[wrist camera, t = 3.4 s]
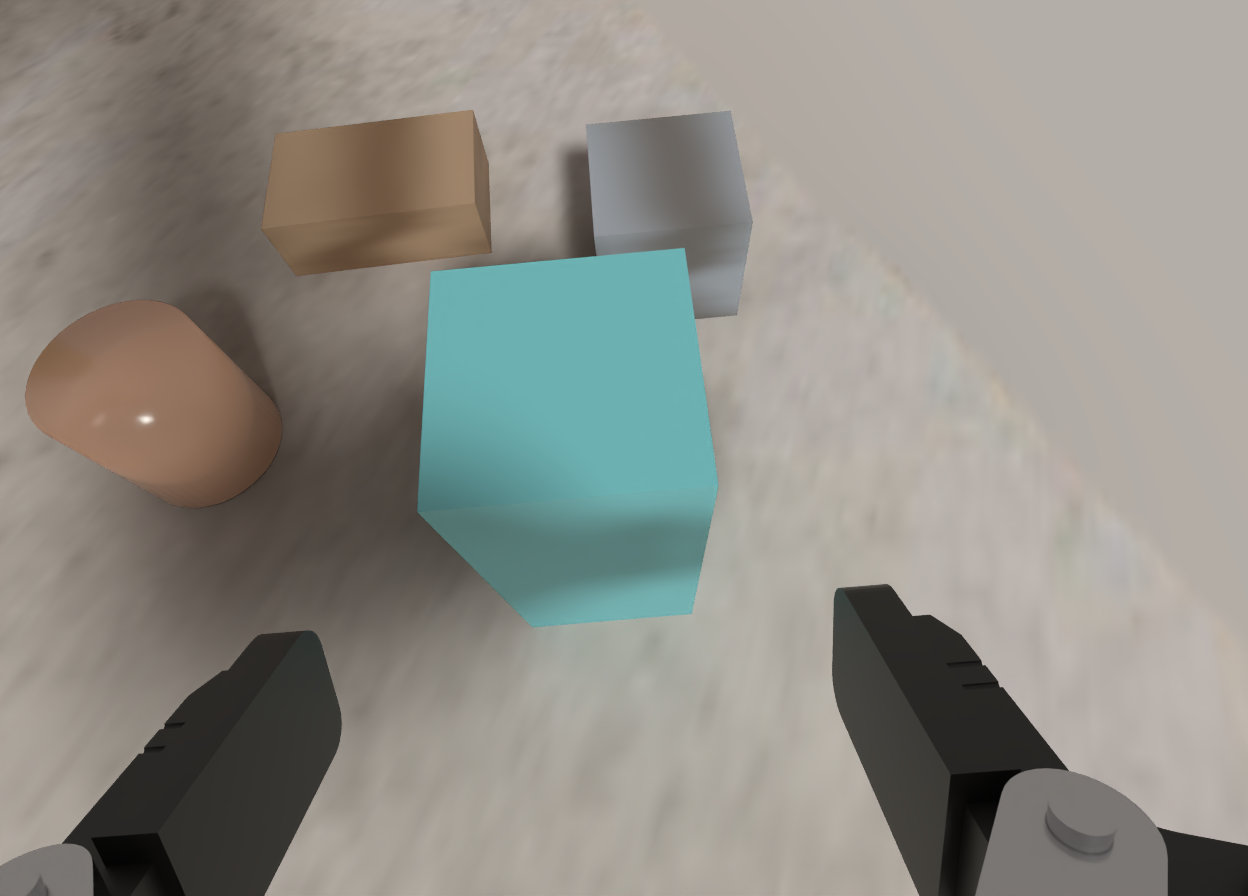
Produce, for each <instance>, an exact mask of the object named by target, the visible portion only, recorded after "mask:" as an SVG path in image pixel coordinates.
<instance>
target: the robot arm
mask: <svg viewBox="0 0 1248 896" xmlns="http://www.w3.org/2000/svg"><path fill="white" fill-rule="evenodd" d="M832 676H833V686H834V692H835V698H836V702H837V706H838V709H839V712H840V715H841V717H842V719H843V722H844V724H845V726H846V729H847V731H848V733H849V735H850V738H851V740H852V742H853V745H854V747H855V749H856V752H857V754H858V756H859V758H860V761H861V763H862V765H863V768H864V770H865V772H866V774H867V777H868V779H869V781H870V784H871V786H872V788H873V791H874V793H875V795H876V797H877V800H878V802H879V804H880V807H881V809H882V811H883V813H884V816H885V818H886V820H887V823H888V825H889V827H890V829H891V832H892V834H893V836H894V839H895V841H896V843H897V846H898V848H899V850H900V852H901V855H902V857H903V859H904V862H905V864H906V866H907V868H908V871H909V873H910V875H911V878H912V880H913V882H914V885H915V887H916V889H917V891H918V894H919V896H1248V846H1247V845H1241V844H1236V843H1231V842H1226V841H1220V840H1215V839H1210V838H1204V837H1199V836H1194V835H1189V834H1183V833H1178V832H1174V831H1170V830H1166V829H1162V828H1159V827H1156V825H1155V824H1154V823H1153V822H1152V820H1151V819H1150V818H1149V817H1148V816H1147V815H1146V814H1145V813H1144V812H1143V811H1142V810H1141V809H1140V808H1139V807H1138V806H1137V805H1136V804H1135V803H1133V802H1132V801H1131V800H1130V799H1128V798H1127V797H1126V796H1124V795H1123V794H1121V793H1120V792H1118V791H1116V790H1115V789H1113V788H1111V787H1109V786H1108V785H1106V784H1104V783H1102V782H1100V781H1097V780H1095V779H1092V778H1090V777H1088V776H1085V775H1081V774H1078V773H1075V772H1071V771H1069V770H1068V769H1067V768H1066V766H1065V765H1064V764H1063V763H1062V761H1061V760H1060V759H1059V758H1058V756H1057V755H1056V754H1055V753H1054V751H1053V750H1052V749H1051V747H1050V746H1049V745H1048V744H1047V742H1046V741H1045V740H1044V739H1043V737H1042V736H1041V735H1040V734H1039V732H1038V731H1037V730H1036V729H1035V727H1034V726H1033V725H1032V724H1031V722H1030V721H1029V720H1028V718H1027V717H1026V716H1025V715H1024V713H1023V712H1022V711H1021V710H1020V708H1019V707H1018V706H1017V705H1016V703H1015V702H1014V701H1013V700H1012V698H1011V697H1010V696H1009V694H1008V693H1007V692H1006V691H1005V689H1004V688H1003V687H999V684H998V681H997V679H996V678H995V677H994V676H993V674H992V673H991V672H990V671H989V669H988V668H987V667H986V665H984V666H983V665H982V662H981V659H980V658H979V657H978V655H977V654H976V653H975V652H974V650H973V649H972V648H971V647H970V645H969V644H968V643H967V641H966V640H965V639H964V638H963V636H962V635H961V634H959V633H958V632H956V631H954V630H953V629H951V628H950V627H948V626H947V625H945V624H944V623H942V622H941V621H939V620H938V619H936V618H934V617H933V616H931V615H921V616H912V615H911V613H910V612H909V611H908V609H907V608H906V606H905V605H904V604H903V602H902V601H901V599H900V598H899V597H898V595H897V594H896V592H895V591H894V590H893V588H892V587H891V586H890V585H888V584H882V585H870V586H858V587H846V588H838V589H837V590H836V592H835V596H834V617H833V660H832ZM341 725H342V721H341V711H340V707H339V704H338V700H337V697H336V693H335V690H334V686H333V683H332V680H331V676H330V673H329V669H328V666H327V662H326V659H325V656H324V652H323V649H322V645H321V642H320V640H319V638H318V636H317V635H316V634H315V633H314V632H313V631H296V632H284V633H272V634H261V635H259V636H257V637H256V638H255V639H254V640H253V641H252V642H251V643H250V644H249V645H248V647H247V648H246V649H245V650H244V651H243V653H242V654H241V655H240V656H239V658H238V659H237V660H236V661H235V662H234V664H233V665H232V666H231V667H230V669H229V670H228V671H222V672H220V673H219V674H218V675H216V676H215V677H213V678H212V679H211V680H209V681H208V682H207V683H205V684H204V685H203V686H201V687H200V688H198V689H197V690H196V691H194V692H193V693H192V694H190V695H189V696H188V697H187V698H186V699H185V700H184V702H183V703H182V704H181V705H180V706H179V707H178V709H177V710H176V711H175V712H174V713H173V714H172V716H171V717H170V718H169V719H168V720H167V721H166V723H165V727H164V729H161V730H159V731H158V732H157V733H156V734H155V735H154V737H153V738H152V739H151V740H150V741H149V742H148V744H147V745H146V746H145V747H144V753H143V754H138V755H137V757H136V758H135V759H134V760H133V761H132V762H131V764H130V765H129V766H128V767H127V768H126V769H125V771H124V772H123V773H122V774H121V775H120V776H119V778H118V779H117V780H116V781H115V782H114V783H113V785H112V786H111V787H110V788H109V789H108V790H107V792H106V793H105V794H104V795H103V796H102V797H101V799H100V800H99V801H98V802H97V803H96V804H95V806H94V807H93V808H92V809H91V810H90V811H89V813H88V814H87V815H86V816H85V817H84V818H83V820H82V821H81V822H80V823H79V824H78V825H77V827H76V828H75V829H74V830H73V831H72V832H71V834H70V835H69V836H68V837H67V838H66V839H65V841H64V842H63V843H62V844H57V845H51V846H47V847H43V848H40V849H37V850H34V851H31V852H28V853H26V854H23V855H21V856H19V857H17V858H14V859H13V860H11V861H9V862H7V863H5V864H3V865H1V866H0V896H264V895H265V893H266V891H267V889H268V887H269V885H270V883H271V881H272V879H273V877H274V875H275V873H276V871H277V869H278V867H279V865H280V863H281V861H282V859H283V857H284V855H285V853H286V851H287V849H288V847H289V845H290V843H291V842H292V840H293V838H294V836H295V834H296V832H297V830H298V828H299V826H300V824H301V822H302V820H303V818H304V816H305V814H306V812H307V810H308V808H309V806H310V804H311V802H312V800H313V798H314V796H315V794H316V792H317V790H318V788H319V786H320V784H321V782H322V780H323V778H324V776H325V774H326V772H327V770H328V768H329V766H330V764H331V762H332V760H333V758H334V756H335V754H336V751H337V749H338V746H339V742H340V736H341Z"/></svg>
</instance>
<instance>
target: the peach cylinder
mask: <svg viewBox="0 0 1248 896" xmlns="http://www.w3.org/2000/svg"><path fill="white" fill-rule="evenodd" d="M25 400H26V407H27V411H28V414H29V416H30V418H31V420H32V422H33V423H34V424H35V425H36V427H37V428H38V429H40V430H41V431H42V432H43V433H45V434H46V435H48V436H50V437H52V438H53V439H55V440H57V441H59V442H60V443H62V444H64V445H66V446H68V447H69V448H71V449H73V450H75V451H76V452H78V453H80V454H82V455H83V456H85V457H87V458H89V459H91V460H92V461H94V462H96V463H98V464H99V465H101V466H103V467H105V468H107V469H108V470H110V471H112V472H114V473H115V474H117V475H119V476H121V477H123V478H124V479H126V480H128V481H130V482H131V483H133V484H135V485H137V486H138V487H140V488H142V489H144V490H146V491H147V492H149V493H151V494H153V495H154V496H156V497H158V498H160V499H162V500H163V501H165V502H167V503H169V504H172V505H175V506H180V507H187V508H198V507H206V506H211V505H215V504H218V503H221V502H224V501H226V500H229V499H231V498H233V497H235V496H236V495H238V494H240V493H241V492H243V491H244V490H246V489H247V488H249V487H250V486H251V485H252V484H253V483H255V482H256V481H257V480H258V479H259V478H260V477H261V476H262V475H263V473H264V472H265V471H266V470H267V468H268V467H269V466H270V464H271V462H272V461H273V459H274V457H275V455H276V453H277V451H278V448H279V445H280V442H281V437H282V420H281V416H280V413H279V410H278V408H277V406H276V405H275V403H274V402H273V401H272V399H271V398H270V397H269V396H268V395H267V394H266V393H264V392H263V391H262V390H261V389H260V388H259V387H258V386H257V385H256V384H255V383H254V382H253V381H252V380H251V379H250V378H249V377H248V376H247V375H246V374H245V373H244V372H243V371H242V370H241V369H240V368H239V367H238V366H237V365H236V364H235V363H234V362H233V361H232V360H231V359H230V358H229V357H228V356H227V355H226V354H225V353H224V352H223V351H222V350H221V349H220V348H219V347H218V346H217V345H216V344H215V343H214V342H213V341H212V340H211V339H210V338H209V337H208V336H207V335H206V334H205V333H204V332H203V331H202V330H201V329H200V328H199V327H198V326H197V325H196V324H195V323H194V322H193V321H192V320H190V319H189V318H188V317H187V316H186V315H185V314H184V313H183V312H182V311H180V310H179V309H177V308H176V307H174V306H171V305H169V304H166V303H163V302H159V301H152V300H132V301H125V302H120V303H116V304H112V305H109V306H106V307H103V308H100V309H98V310H96V311H93V312H91V313H89V314H87V315H85V316H84V317H82V318H80V319H78V320H77V321H75V322H74V323H72V324H71V325H69V326H68V327H67V328H65V329H64V330H63V331H62V332H61V333H59V334H58V335H57V336H56V337H55V338H54V339H53V340H52V341H51V342H50V343H49V344H48V346H47V347H46V348H45V349H44V350H43V352H42V353H41V354H40V356H39V357H38V359H37V361H36V362H35V364H34V366H33V368H32V370H31V373H30V375H29V378H28V381H27V385H26V393H25Z"/></svg>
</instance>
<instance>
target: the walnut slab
mask: <svg viewBox="0 0 1248 896" xmlns="http://www.w3.org/2000/svg"><path fill="white" fill-rule="evenodd" d="M261 230H262V231H263V232H264V234H265V235H266V236H267V238H268V239H269V240H270V242H271V243H272V244H273V245H274V247H275V248H276V249H277V251H278V252H279V253H280V255H281V256H282V257H283V259H284V260H285V261H286V263H287V264H288V265H289V267H290V268H291V269H292V270H293V272H294V273H295V274H296V276H301V275H309V274H317V273H325V272H334V271H342V270H350V269H359V268H367V267H375V266H384V265H392V264H400V263H409V262H417V261H425V260H434V259H442V258H450V257H459V256H467V255H475V254H484V253H492V252H491V222H490V192H489V163H488V160H487V156H486V153H485V150H484V146H483V143H482V139H481V136H480V132H479V129H478V126H477V122H476V119H475V115H474V112H473V110H468V111H460V112H451V113H443V114H435V115H427V116H419V117H410V118H402V119H394V120H386V121H377V122H369V123H361V124H353V125H344V126H336V127H328V128H320V129H312V130H303V131H295V132H287V133H279V134H275V141H274V147H273V154H272V160H271V167H270V173H269V180H268V186H267V193H266V199H265V206H264V212H263V219H262V225H261Z"/></svg>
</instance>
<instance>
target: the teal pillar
mask: <svg viewBox="0 0 1248 896" xmlns="http://www.w3.org/2000/svg"><path fill="white" fill-rule="evenodd" d="M717 490H718V479H717V472H716V465H715V458H714V451H713V444H712V437H711V430H710V423H709V416H708V409H707V402H706V395H705V388H704V381H703V374H702V367H701V359H700V352H699V345H698V338H697V331H696V324H695V317H694V310H693V303H692V296H691V289H690V282H689V275H688V268H687V261H686V254H685V248H678V249H668V250H657V251H646V252H635V253H625V254H614V255H603V256H592V257H581V258H571V259H560V260H549V261H538V262H528V263H517V264H506V265H495V266H485V267H474V268H463V269H452V270H441V271H431V277H430V295H429V312H428V330H427V347H426V365H425V382H424V400H423V417H422V435H421V452H420V470H419V487H418V505H417V512H418V513H419V514H420V515H421V516H422V517H423V518H424V519H425V520H426V521H427V522H428V523H429V524H430V525H431V526H432V527H433V528H434V529H435V530H436V531H437V532H438V533H439V534H440V535H441V536H442V537H443V538H444V539H445V540H446V541H447V542H448V543H449V544H450V545H451V546H452V547H453V548H454V549H455V550H456V551H457V552H458V553H459V554H460V555H461V556H462V557H463V558H464V559H465V560H466V561H467V562H468V563H469V564H470V565H471V566H472V567H473V568H474V569H475V570H476V571H477V572H478V573H479V574H480V575H481V576H482V577H483V578H484V579H485V580H486V581H487V582H488V583H489V584H490V585H491V586H492V587H493V588H494V589H495V590H496V591H497V592H498V593H499V594H500V595H501V596H502V597H503V598H504V599H505V600H506V601H507V602H508V603H509V604H510V605H511V606H512V607H513V608H514V609H515V610H516V611H517V612H518V613H519V614H520V615H521V616H522V617H523V618H524V619H525V620H526V621H527V622H528V623H529V624H530V625H531V626H532V627H541V626H553V625H565V624H576V623H588V622H600V621H612V620H624V619H635V618H647V617H659V616H671V615H683V614H692V609H693V604H694V600H695V595H696V590H697V585H698V581H699V576H700V571H701V566H702V562H703V557H704V552H705V547H706V543H707V538H708V533H709V528H710V524H711V519H712V514H713V509H714V505H715V500H716V495H717Z"/></svg>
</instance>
